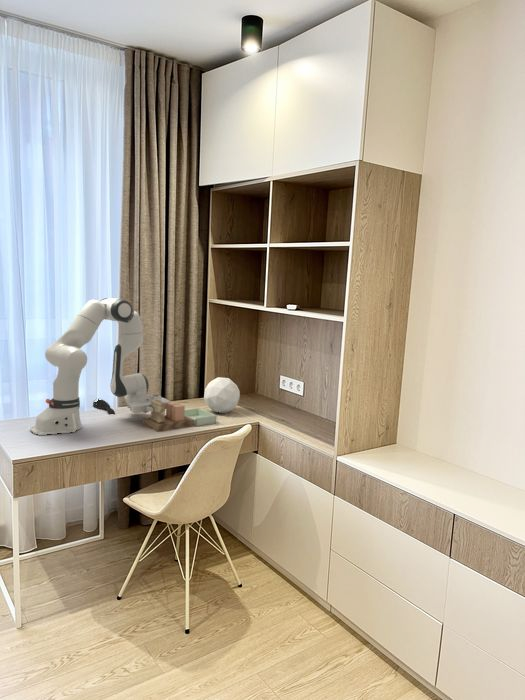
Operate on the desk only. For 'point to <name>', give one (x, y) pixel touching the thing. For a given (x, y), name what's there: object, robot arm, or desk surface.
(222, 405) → the geometric polyhedron
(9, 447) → the desk surface
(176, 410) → the pink building block
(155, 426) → the board
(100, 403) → the hairbrush
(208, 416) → the tray
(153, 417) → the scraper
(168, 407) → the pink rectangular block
